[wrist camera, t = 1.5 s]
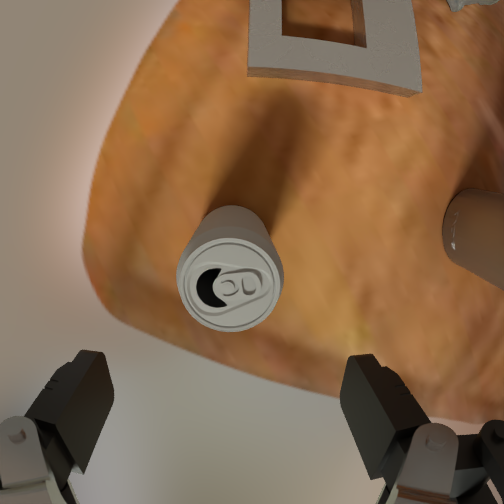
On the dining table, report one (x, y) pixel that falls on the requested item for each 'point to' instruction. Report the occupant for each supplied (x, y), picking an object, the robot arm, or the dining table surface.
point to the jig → (341, 49)
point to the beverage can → (230, 271)
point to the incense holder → (467, 3)
